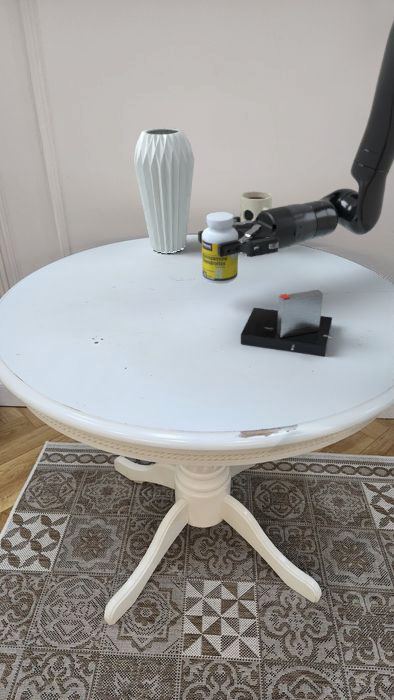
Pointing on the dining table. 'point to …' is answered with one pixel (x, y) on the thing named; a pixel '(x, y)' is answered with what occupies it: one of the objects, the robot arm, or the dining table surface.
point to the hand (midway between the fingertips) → (208, 244)
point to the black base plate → (264, 334)
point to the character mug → (254, 205)
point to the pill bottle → (212, 263)
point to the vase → (165, 185)
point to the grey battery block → (299, 313)
